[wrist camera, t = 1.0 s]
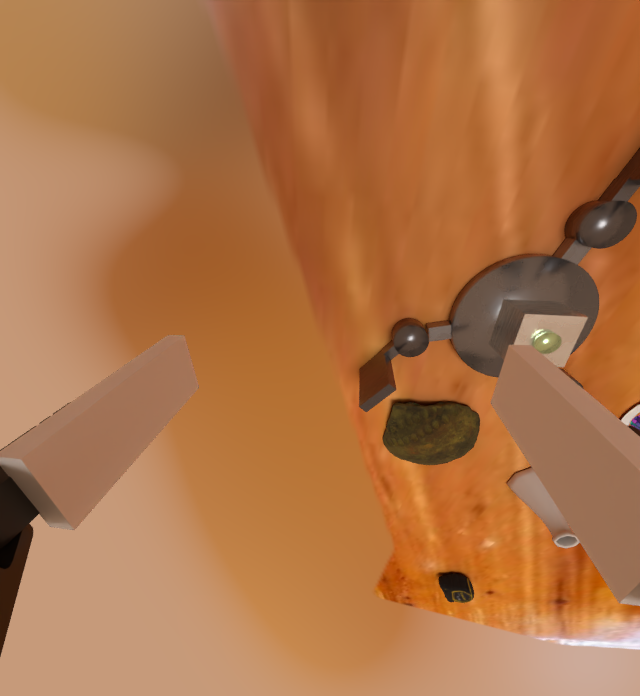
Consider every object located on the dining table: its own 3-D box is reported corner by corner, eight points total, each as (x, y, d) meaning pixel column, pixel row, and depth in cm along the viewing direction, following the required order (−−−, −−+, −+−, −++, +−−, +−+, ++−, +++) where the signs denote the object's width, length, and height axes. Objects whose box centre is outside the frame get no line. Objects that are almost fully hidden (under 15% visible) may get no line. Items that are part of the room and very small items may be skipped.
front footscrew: (409, 311, 38) (422, 341, 30) (431, 332, 39) (449, 366, 31) (352, 362, 42) (350, 399, 34) (372, 379, 43) (375, 419, 35)
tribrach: (464, 127, 28) (505, 98, 20) (750, 121, 25) (926, 84, 17) (409, 409, 45) (419, 453, 37) (576, 424, 42) (625, 475, 34)
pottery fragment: (462, 462, 49) (470, 483, 46) (379, 453, 51) (381, 473, 47) (484, 400, 43) (497, 419, 39) (389, 392, 44) (392, 410, 41)
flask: (564, 479, 48) (609, 541, 39) (528, 499, 51) (563, 561, 42) (532, 460, 47) (571, 520, 38) (498, 482, 50) (527, 542, 41)
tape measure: (436, 570, 66) (439, 589, 63) (466, 568, 64) (472, 588, 60) (442, 585, 68) (446, 604, 65) (472, 584, 66) (478, 604, 63)
